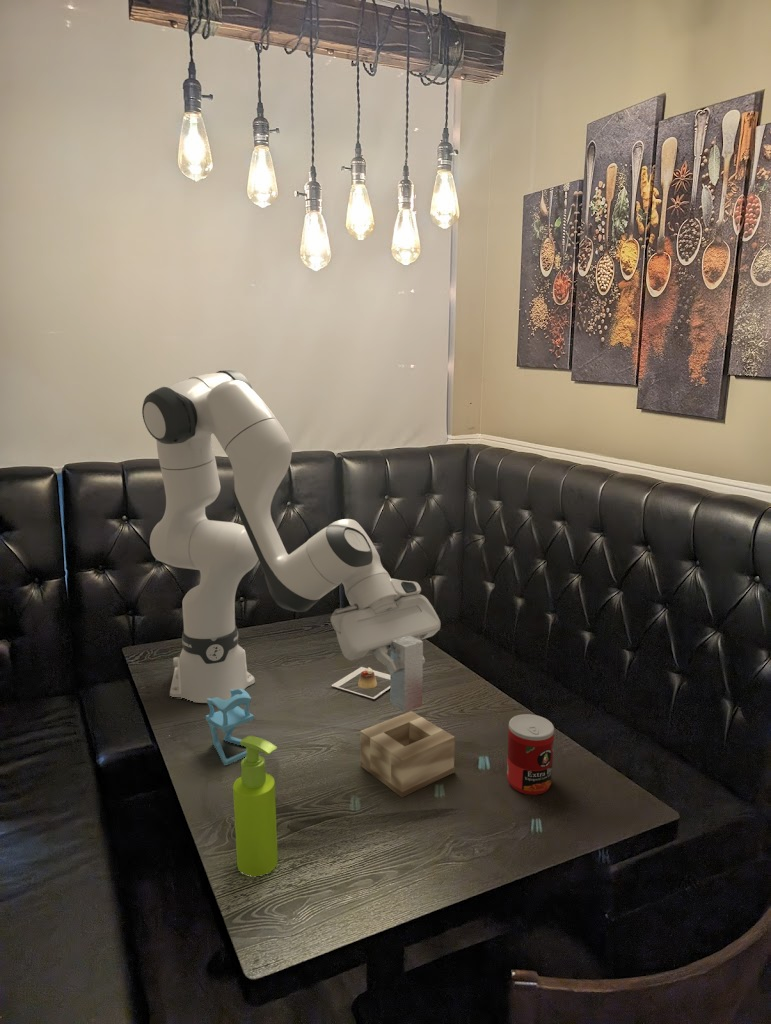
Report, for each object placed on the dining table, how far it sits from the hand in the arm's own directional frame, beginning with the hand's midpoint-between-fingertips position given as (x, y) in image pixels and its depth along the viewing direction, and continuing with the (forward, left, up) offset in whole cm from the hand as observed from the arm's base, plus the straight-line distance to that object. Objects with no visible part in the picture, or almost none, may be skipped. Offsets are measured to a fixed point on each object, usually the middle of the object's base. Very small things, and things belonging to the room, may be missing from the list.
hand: (408, 668), depth 122 cm
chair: (-20, -28, -20) cm, 40 cm away
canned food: (+11, +18, -20) cm, 29 cm away
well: (-1, 0, -20) cm, 20 cm away
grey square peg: (-1, 0, -7) cm, 7 cm away
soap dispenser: (+13, -30, -20) cm, 38 cm away
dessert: (-36, +6, -21) cm, 42 cm away
